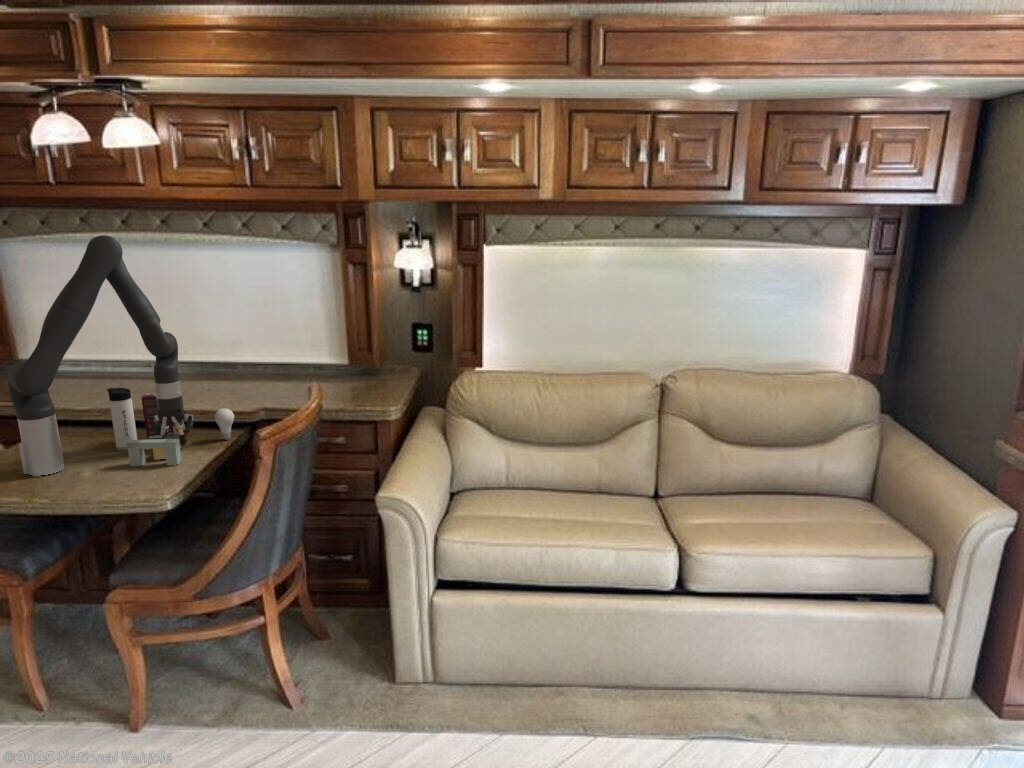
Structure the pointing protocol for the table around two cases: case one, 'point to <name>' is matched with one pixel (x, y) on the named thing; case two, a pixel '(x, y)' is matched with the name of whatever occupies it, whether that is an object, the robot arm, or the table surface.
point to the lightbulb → (224, 422)
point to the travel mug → (122, 417)
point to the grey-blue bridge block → (138, 448)
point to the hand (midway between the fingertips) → (175, 444)
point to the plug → (160, 452)
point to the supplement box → (149, 410)
